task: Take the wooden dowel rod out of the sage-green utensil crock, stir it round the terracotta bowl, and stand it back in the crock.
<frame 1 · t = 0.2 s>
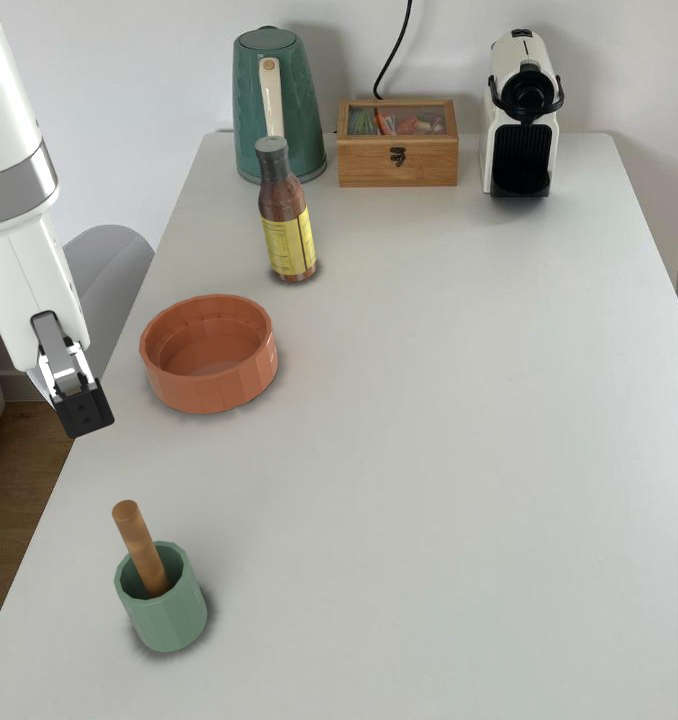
hand: (77, 386, 59), 26 cm above the table, tool pointing down, fingers open, 9 cm apart
sauce bottle: (294, 272, 113), on the table
wooden dowel rod: (171, 617, 73), point 1 cm above the table, touching crock
crock: (173, 620, 74), on the table
bowl: (215, 371, 98), on the table
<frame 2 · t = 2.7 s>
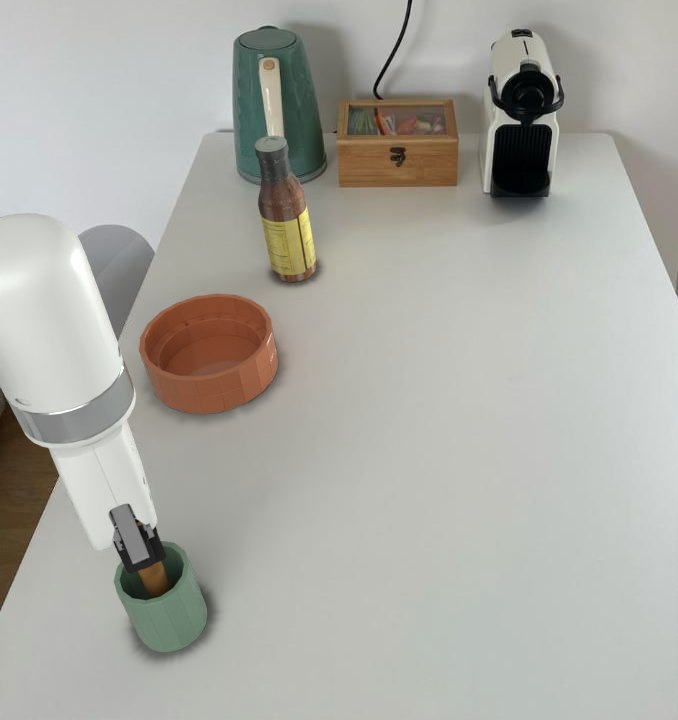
hand: (142, 550, 66), 11 cm above the table, tool pointing down, fingers closed on wooden dowel rod, 2 cm apart
wooden dowel rod: (171, 617, 73), point 1 cm above the table, touching crock, gripper
everything else where it was.
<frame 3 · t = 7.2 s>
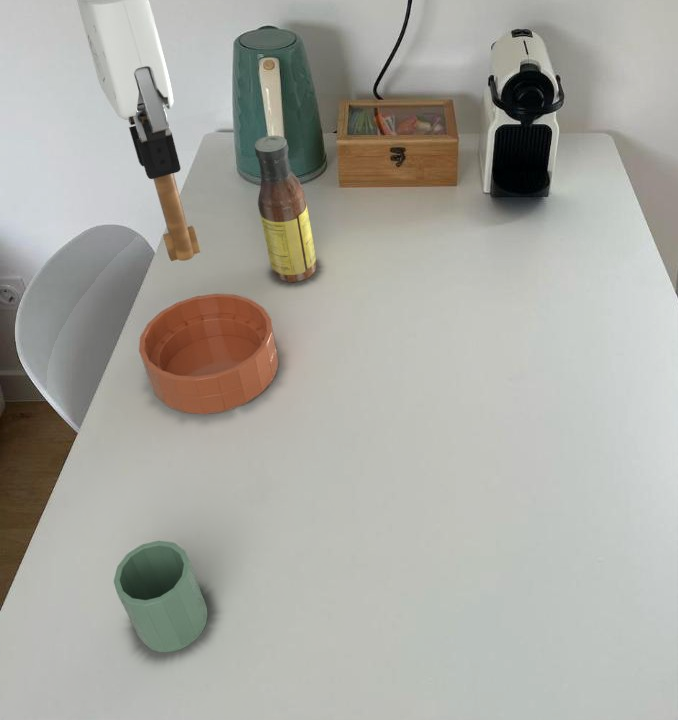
hand: (160, 166, 78), 28 cm above the table, tool pointing down, fingers closed on wooden dowel rod
wooden dowel rod: (185, 255, 86), point 18 cm above the table, touching gripper
everything else where it was.
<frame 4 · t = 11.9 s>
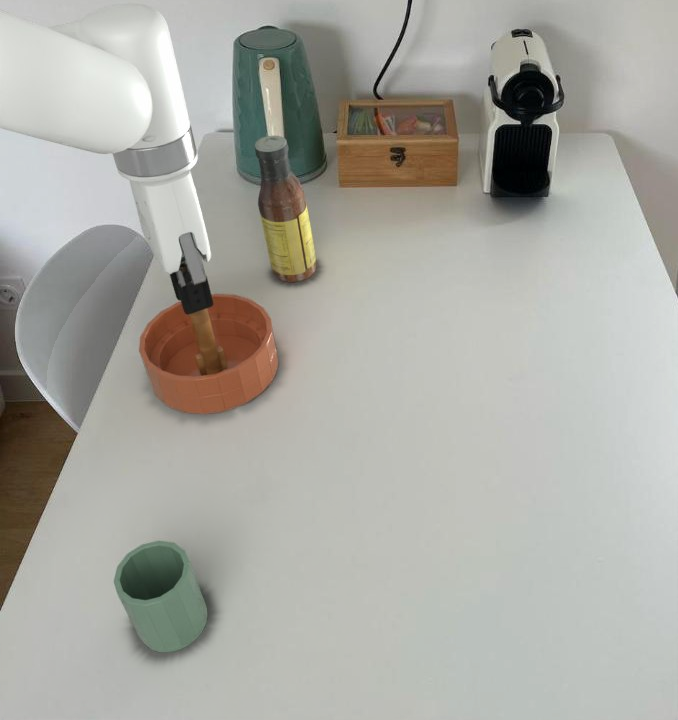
hand: (194, 301, 88), 13 cm above the table, tool pointing down, fingers closed on wooden dowel rod, 2 cm apart
wooden dowel rod: (214, 371, 95), point 2 cm above the table, touching gripper
everything else where it was.
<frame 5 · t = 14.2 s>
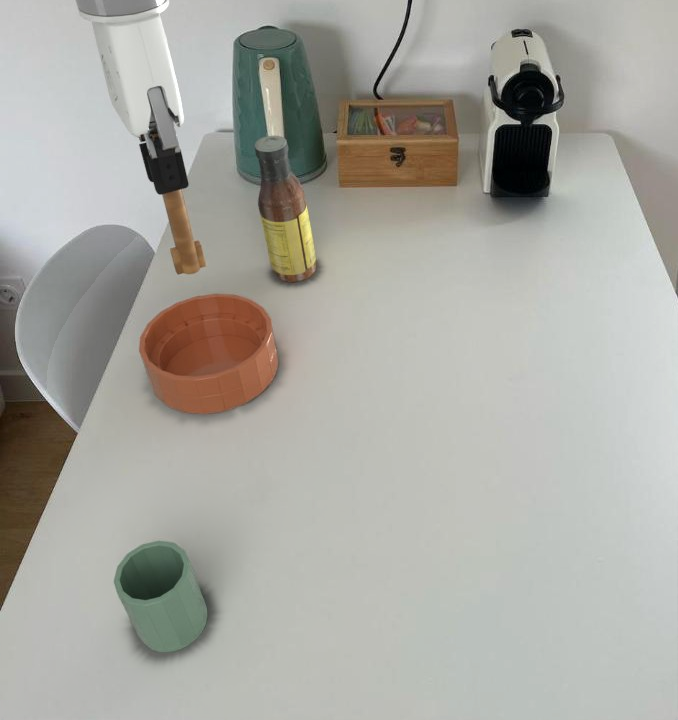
hand: (168, 182, 80), 26 cm above the table, tool pointing down, fingers closed on wooden dowel rod
wooden dowel rod: (191, 269, 88), point 15 cm above the table, touching gripper
everything else where it was.
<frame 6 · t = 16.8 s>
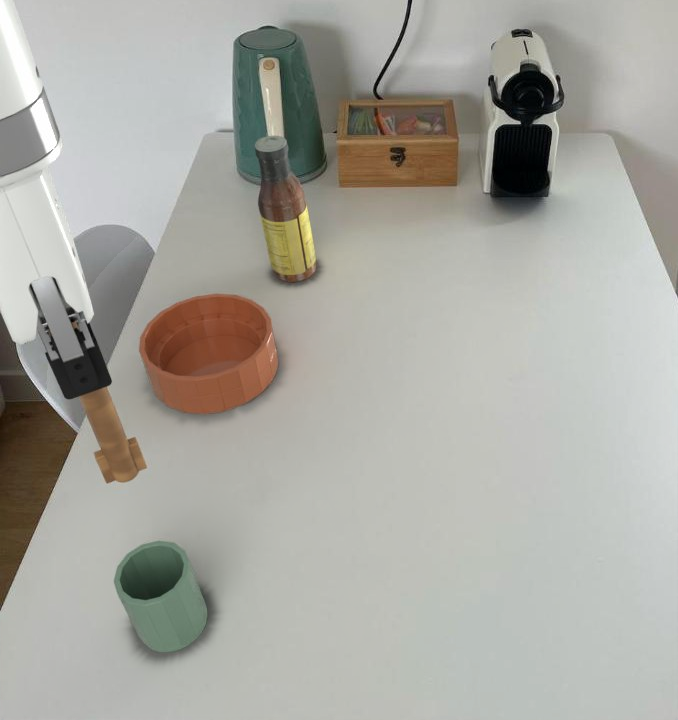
hand: (84, 376, 56), 29 cm above the table, tool pointing down, fingers closed on wooden dowel rod
wooden dowel rod: (126, 472, 63), point 18 cm above the table, touching gripper
everything else where it was.
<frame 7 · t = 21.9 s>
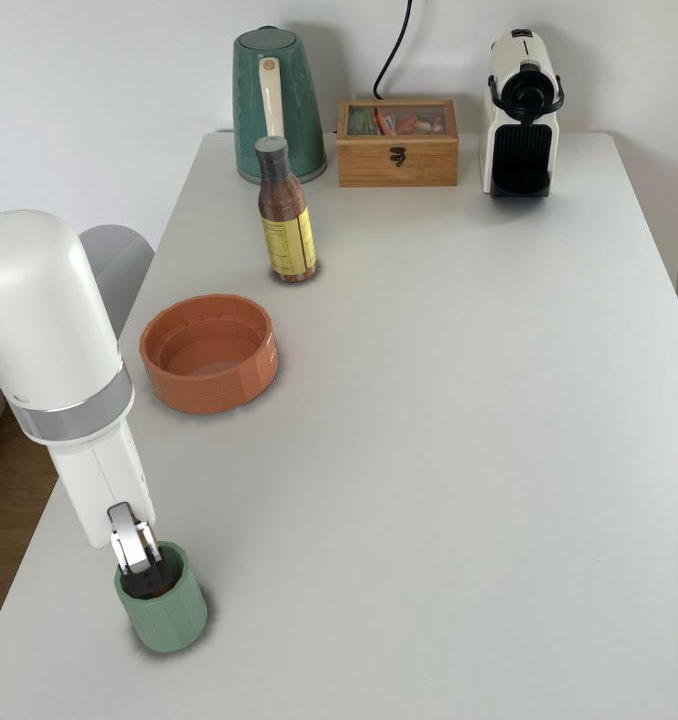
hand: (137, 540, 65), 13 cm above the table, tool pointing down, fingers open, 9 cm apart
wooden dowel rod: (175, 615, 74), point 1 cm above the table, touching crock
everything else where it was.
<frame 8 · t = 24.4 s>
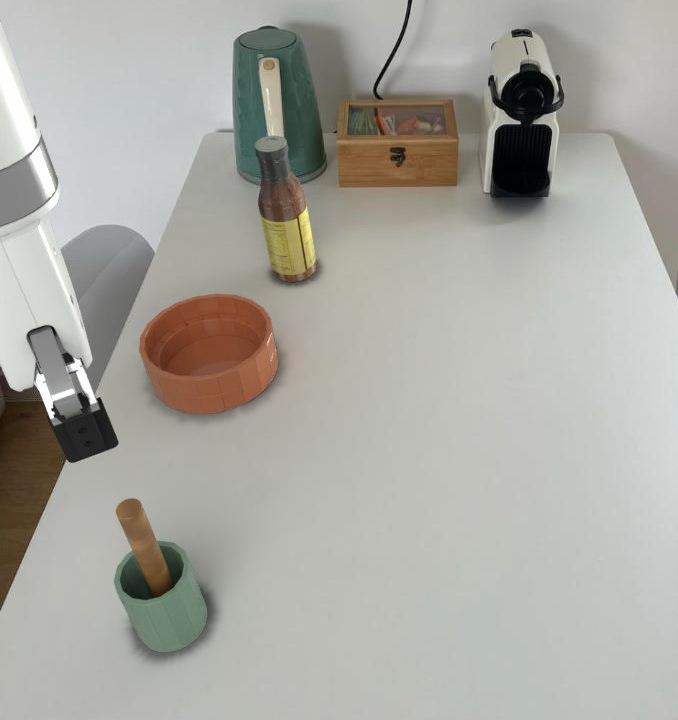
hand: (78, 404, 55), 28 cm above the table, tool pointing down, fingers open, 9 cm apart
nothing on the table moved.
at the end: wooden dowel rod 0.3 cm off-centre in the crock, point 0.6 cm above the crock's base; wooden dowel rod tilted 0°; wooden dowel rod touching crock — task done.
